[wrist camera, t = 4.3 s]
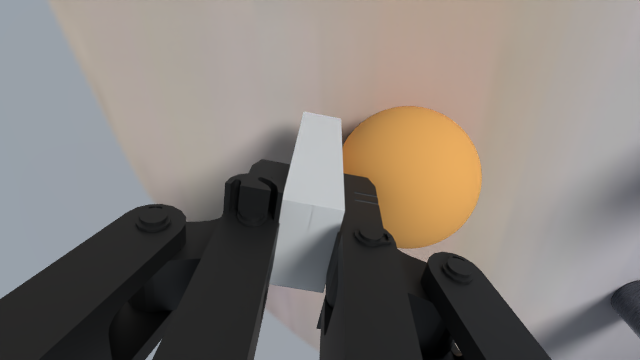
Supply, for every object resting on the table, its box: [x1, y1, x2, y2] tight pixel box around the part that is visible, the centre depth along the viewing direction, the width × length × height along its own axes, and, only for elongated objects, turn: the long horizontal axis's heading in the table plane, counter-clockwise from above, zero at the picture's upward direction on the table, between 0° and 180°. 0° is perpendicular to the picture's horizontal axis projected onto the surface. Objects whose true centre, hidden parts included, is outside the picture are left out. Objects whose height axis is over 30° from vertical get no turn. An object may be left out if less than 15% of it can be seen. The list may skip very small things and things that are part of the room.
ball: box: [342, 106, 482, 248], centre depth 14 cm, size 6×6×6 cm
